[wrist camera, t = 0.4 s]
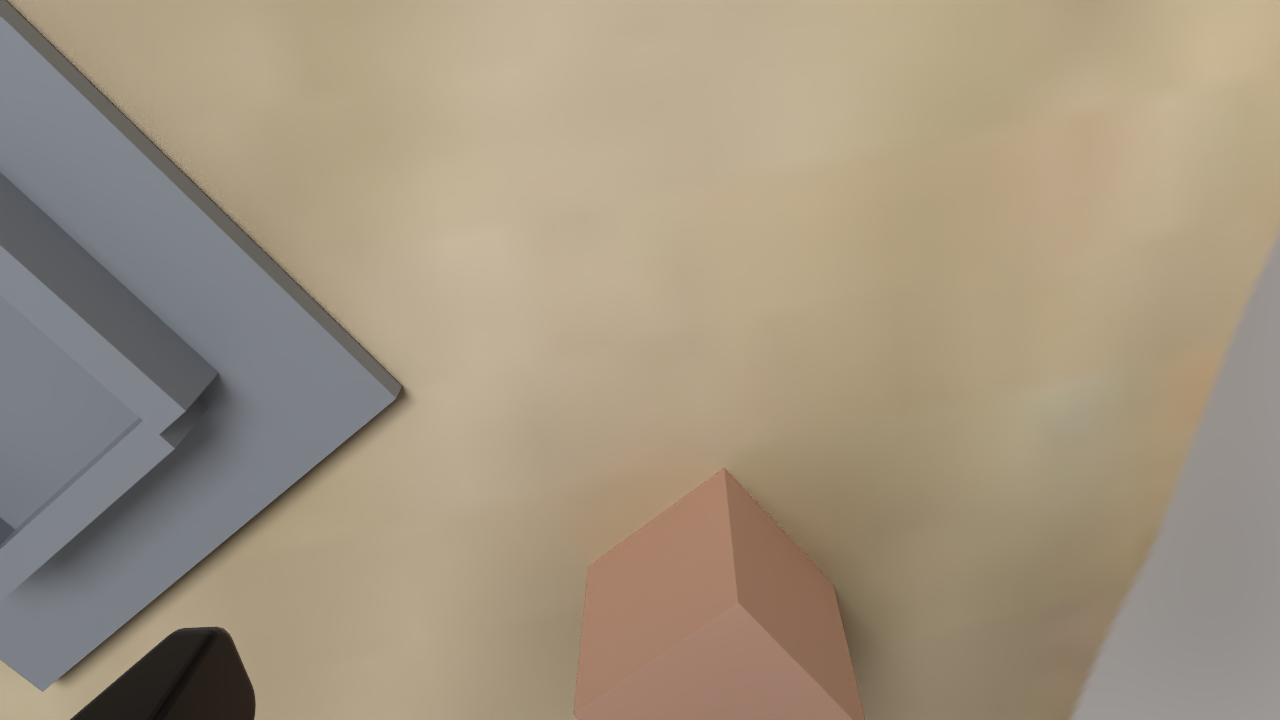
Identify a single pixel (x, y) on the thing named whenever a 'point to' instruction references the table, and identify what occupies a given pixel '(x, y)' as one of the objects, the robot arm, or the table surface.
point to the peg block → (712, 621)
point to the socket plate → (136, 367)
